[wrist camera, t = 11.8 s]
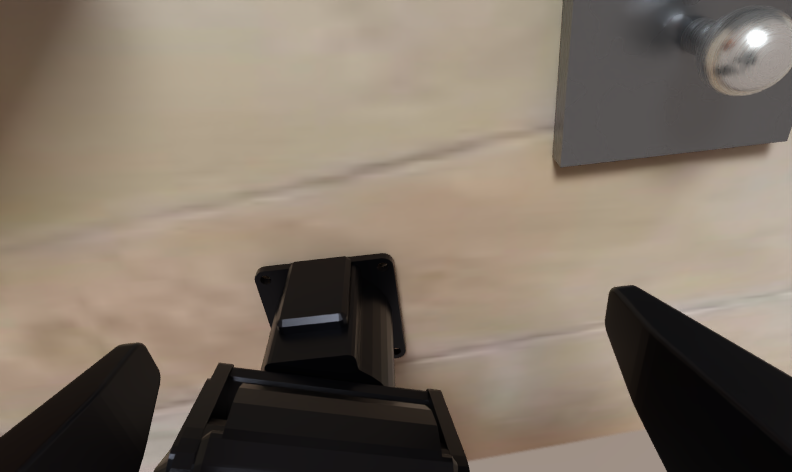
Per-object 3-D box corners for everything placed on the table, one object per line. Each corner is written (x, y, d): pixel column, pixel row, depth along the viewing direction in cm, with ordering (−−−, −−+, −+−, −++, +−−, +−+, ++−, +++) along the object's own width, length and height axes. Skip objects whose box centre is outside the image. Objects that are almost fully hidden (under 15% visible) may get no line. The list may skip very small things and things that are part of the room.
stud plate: (769, 131, 20) (870, 184, 16) (552, 157, 21) (597, 216, 16) (855, -139, 15) (1031, -162, 11) (570, -101, 16) (640, -110, 12)
